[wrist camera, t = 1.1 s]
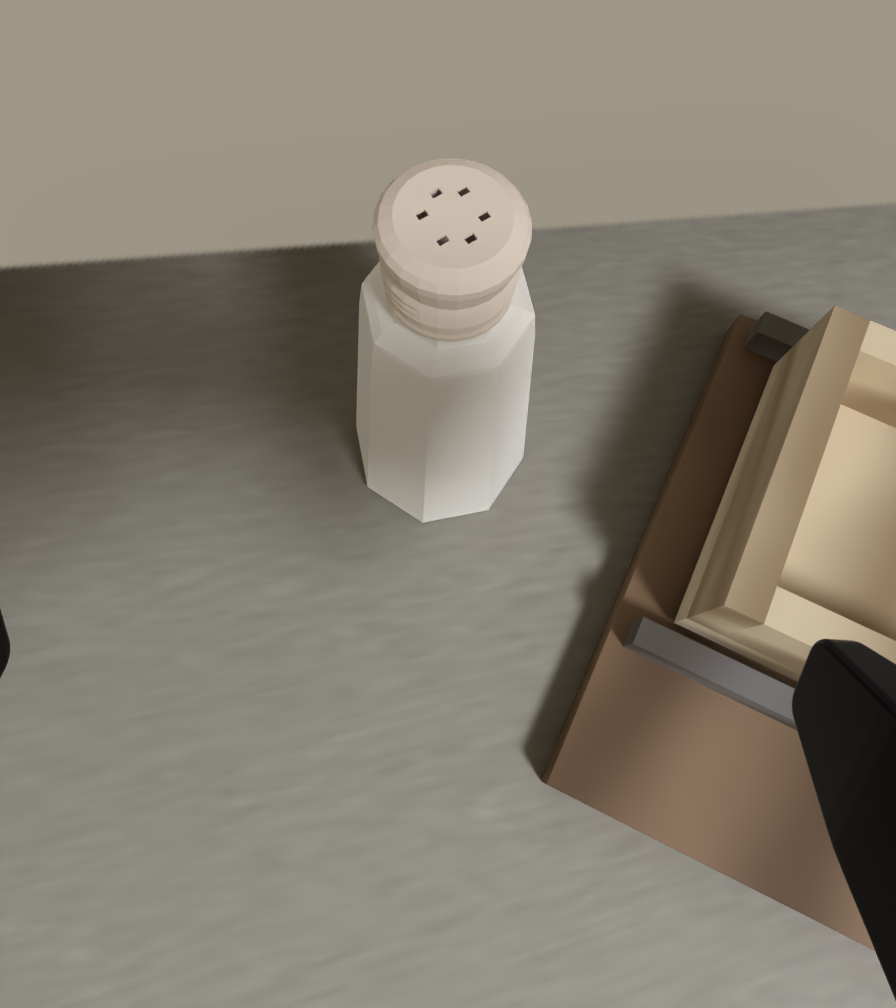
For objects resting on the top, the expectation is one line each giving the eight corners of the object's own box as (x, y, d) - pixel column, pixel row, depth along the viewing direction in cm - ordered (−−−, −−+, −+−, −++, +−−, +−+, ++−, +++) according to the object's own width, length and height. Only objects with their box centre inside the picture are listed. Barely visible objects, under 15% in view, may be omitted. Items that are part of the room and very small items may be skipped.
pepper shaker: (322, 421, 23) (236, 176, 12) (460, 338, 24) (490, 45, 13) (415, 558, 22) (409, 417, 11) (556, 465, 23) (673, 255, 12)
